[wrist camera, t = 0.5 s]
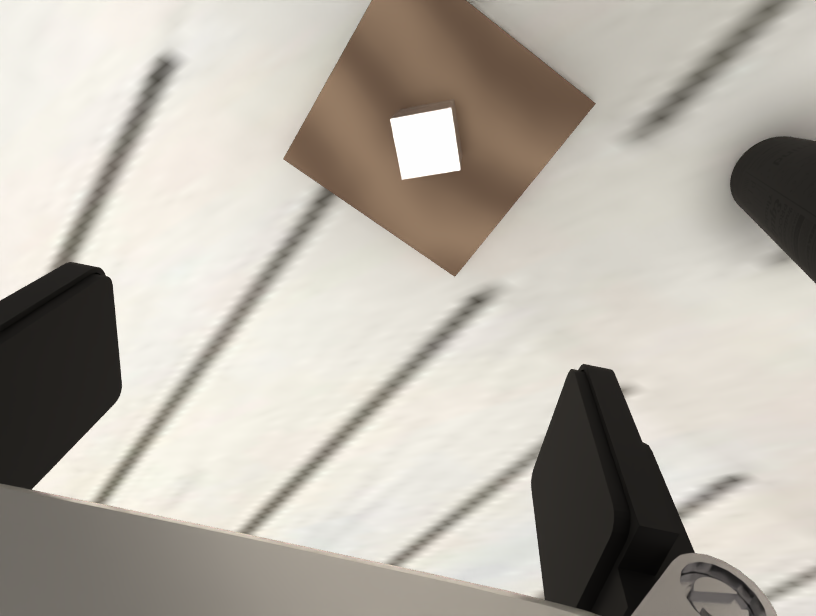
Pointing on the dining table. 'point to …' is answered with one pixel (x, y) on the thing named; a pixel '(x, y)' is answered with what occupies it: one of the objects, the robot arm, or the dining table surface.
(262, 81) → the dining table surface
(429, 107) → the pale wood block
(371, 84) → the board
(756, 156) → the drinking cup
